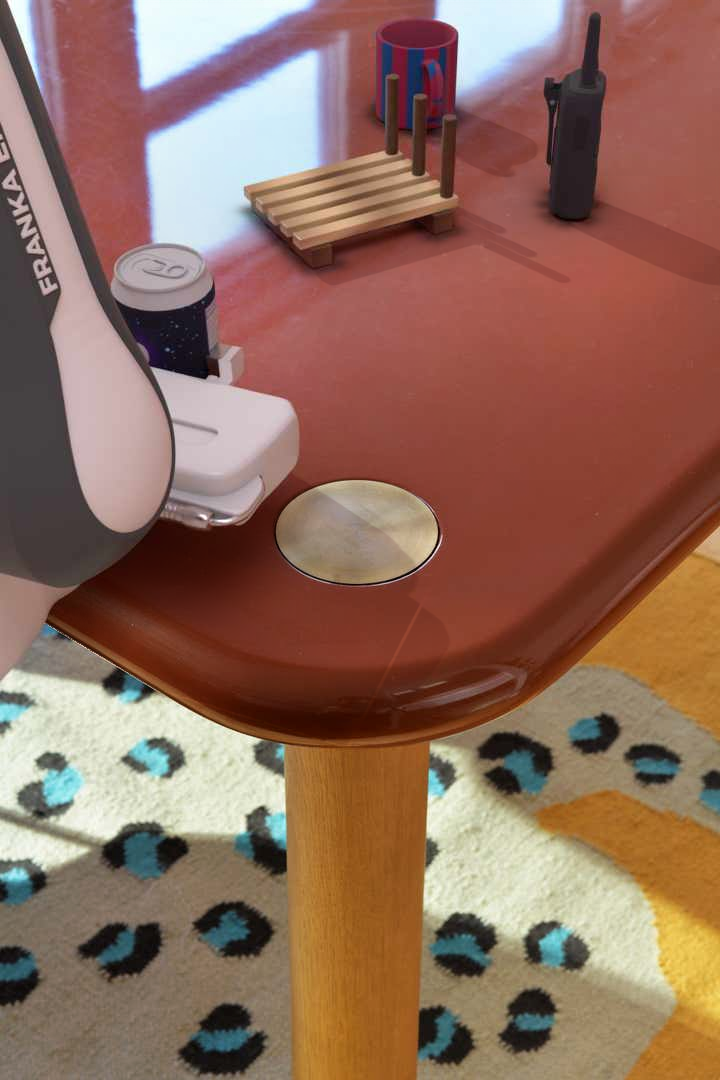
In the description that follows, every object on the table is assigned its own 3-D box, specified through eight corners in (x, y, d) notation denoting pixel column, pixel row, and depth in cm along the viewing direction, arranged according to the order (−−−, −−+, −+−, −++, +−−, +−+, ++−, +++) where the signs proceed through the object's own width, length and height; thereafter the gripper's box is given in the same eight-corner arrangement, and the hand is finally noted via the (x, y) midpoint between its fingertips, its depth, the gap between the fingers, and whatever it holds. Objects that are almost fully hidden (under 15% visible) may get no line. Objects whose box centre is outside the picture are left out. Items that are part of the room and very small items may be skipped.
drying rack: (303, 271, 96) (299, 161, 90) (242, 212, 102) (235, 106, 97) (460, 227, 100) (466, 120, 95) (392, 173, 107) (394, 69, 101)
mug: (448, 95, 118) (451, 16, 113) (467, 146, 110) (471, 63, 106) (371, 98, 117) (371, 19, 113) (385, 150, 110) (386, 67, 105)
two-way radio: (590, 226, 100) (615, 22, 90) (530, 221, 101) (548, 18, 91) (594, 191, 104) (618, -8, 94) (536, 186, 105) (554, -11, 95)
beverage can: (159, 407, 83) (138, 231, 76) (243, 427, 82) (230, 250, 74) (114, 460, 80) (86, 280, 72) (201, 482, 78) (183, 301, 70)
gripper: (230, 485, 62) (345, 332, 72) (-138, 389, 68) (15, 259, 78) (238, 585, 67) (346, 427, 76) (-108, 486, 72) (32, 351, 82)
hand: (176, 341), depth 77 cm, fingers closed on beverage can, 5 cm apart
